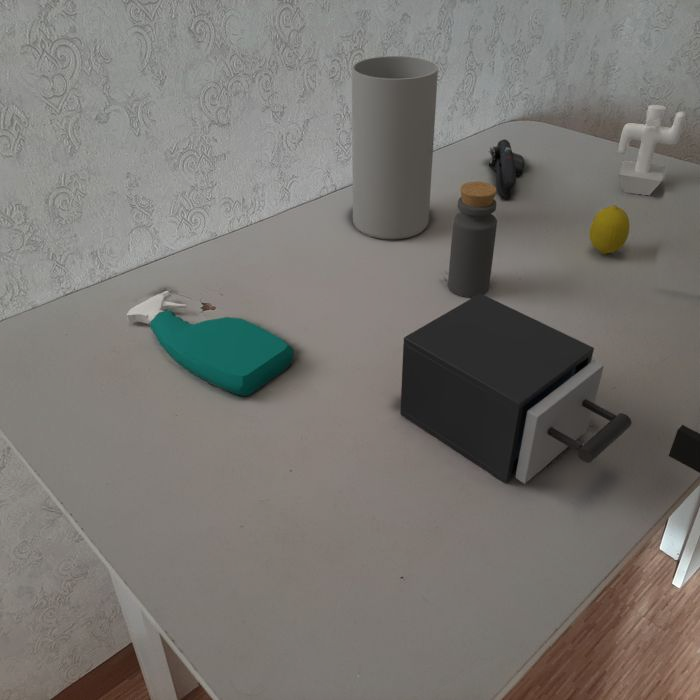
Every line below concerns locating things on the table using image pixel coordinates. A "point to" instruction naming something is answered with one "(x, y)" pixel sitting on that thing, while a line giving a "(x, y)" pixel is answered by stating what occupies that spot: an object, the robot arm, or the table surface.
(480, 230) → the bottle
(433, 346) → the drawer cabinet
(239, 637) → the table surface
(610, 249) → the lemon
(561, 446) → the compartment
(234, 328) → the spray bottle
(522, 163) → the can opener
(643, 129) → the figurine
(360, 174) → the cylinder vase
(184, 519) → the table surface
